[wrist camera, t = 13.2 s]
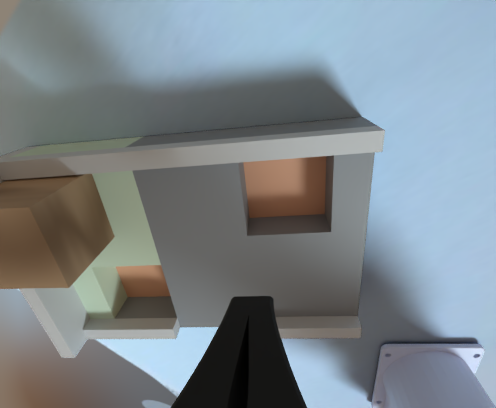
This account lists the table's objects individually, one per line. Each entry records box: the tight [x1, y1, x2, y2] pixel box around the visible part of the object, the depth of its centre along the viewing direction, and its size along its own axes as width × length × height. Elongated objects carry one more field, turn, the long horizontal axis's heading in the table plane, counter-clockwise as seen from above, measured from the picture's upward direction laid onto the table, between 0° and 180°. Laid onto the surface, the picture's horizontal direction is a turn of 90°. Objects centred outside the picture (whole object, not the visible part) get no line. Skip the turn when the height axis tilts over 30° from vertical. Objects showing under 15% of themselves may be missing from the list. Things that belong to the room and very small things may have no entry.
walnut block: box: [0, 174, 115, 289], centre depth 15 cm, size 4×4×4 cm
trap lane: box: [0, 117, 385, 358], centre depth 18 cm, size 14×21×5 cm, turn 96°
